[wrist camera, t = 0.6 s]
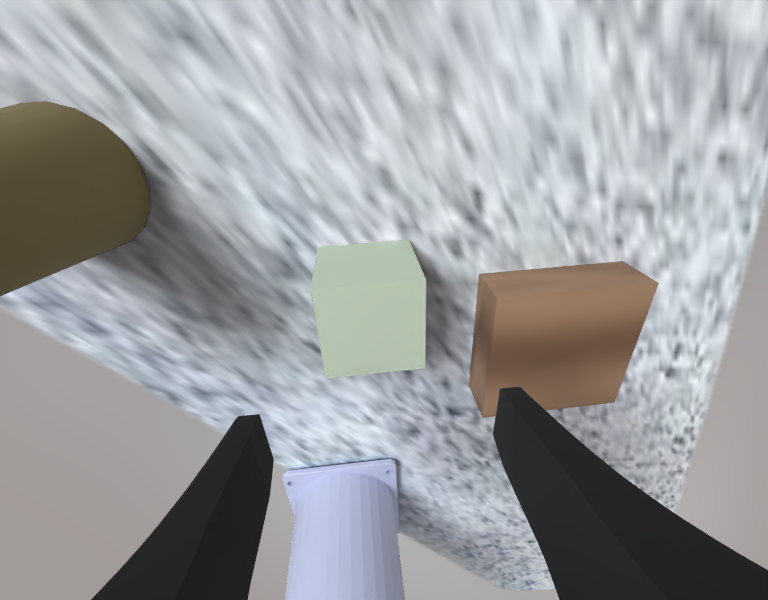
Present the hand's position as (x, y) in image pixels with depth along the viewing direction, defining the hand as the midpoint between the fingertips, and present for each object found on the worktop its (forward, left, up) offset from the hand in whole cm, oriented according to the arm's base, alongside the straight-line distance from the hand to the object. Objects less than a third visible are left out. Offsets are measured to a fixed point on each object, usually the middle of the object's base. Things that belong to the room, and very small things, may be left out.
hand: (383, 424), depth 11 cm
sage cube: (0, 0, -9) cm, 9 cm away
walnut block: (-4, -10, -10) cm, 14 cm away
